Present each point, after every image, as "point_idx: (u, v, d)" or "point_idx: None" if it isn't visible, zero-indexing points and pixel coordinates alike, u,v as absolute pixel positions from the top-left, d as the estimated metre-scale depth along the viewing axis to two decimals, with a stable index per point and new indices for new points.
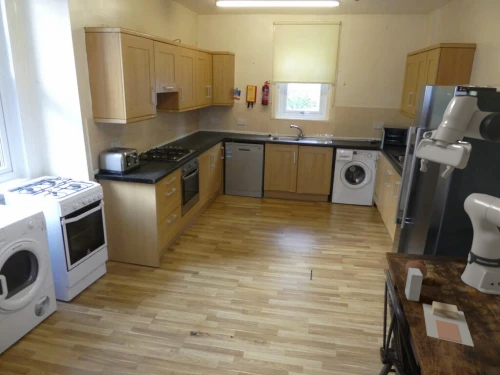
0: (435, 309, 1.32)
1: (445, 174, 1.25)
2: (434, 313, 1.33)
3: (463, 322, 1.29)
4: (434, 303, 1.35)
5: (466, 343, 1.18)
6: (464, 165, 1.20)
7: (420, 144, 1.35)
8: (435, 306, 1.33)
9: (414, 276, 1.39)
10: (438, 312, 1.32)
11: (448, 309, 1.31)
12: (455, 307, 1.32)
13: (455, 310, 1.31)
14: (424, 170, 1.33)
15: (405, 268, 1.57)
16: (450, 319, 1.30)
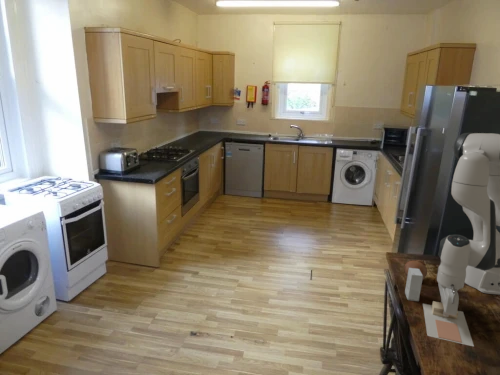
0: (435, 309, 1.32)
1: (445, 313, 1.30)
2: (434, 313, 1.33)
3: (463, 322, 1.29)
4: (434, 303, 1.35)
5: (466, 343, 1.18)
6: (453, 313, 1.22)
7: None
8: (435, 306, 1.33)
9: (414, 276, 1.39)
10: (438, 312, 1.32)
11: None
12: None
13: None
14: None
15: (405, 268, 1.57)
16: (450, 319, 1.30)
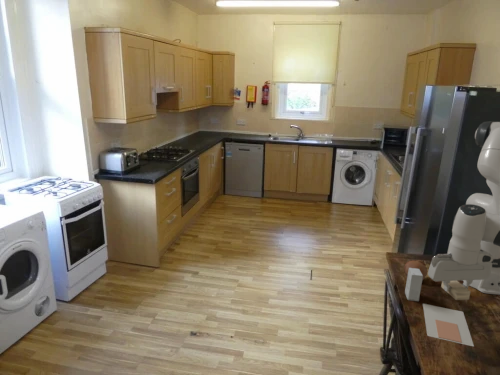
0: None
1: (445, 286, 1.20)
2: (442, 286, 1.24)
3: (463, 322, 1.29)
4: None
5: (466, 343, 1.18)
6: (431, 276, 1.17)
7: None
8: None
9: (414, 276, 1.39)
10: None
11: (453, 286, 1.19)
12: (465, 291, 1.17)
13: (459, 290, 1.17)
14: None
15: (405, 268, 1.57)
16: (450, 319, 1.30)
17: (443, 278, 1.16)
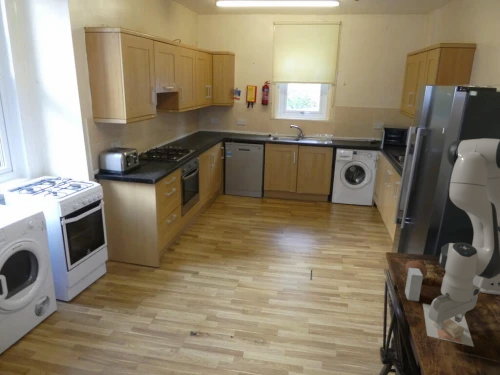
0: None
1: (438, 325, 1.21)
2: (434, 324, 1.26)
3: (463, 322, 1.29)
4: None
5: (466, 343, 1.18)
6: (434, 319, 1.17)
7: None
8: None
9: (414, 276, 1.39)
10: None
11: (448, 325, 1.22)
12: (460, 328, 1.21)
13: (455, 329, 1.20)
14: (456, 320, 1.25)
15: (405, 268, 1.57)
16: None
17: (444, 318, 1.18)
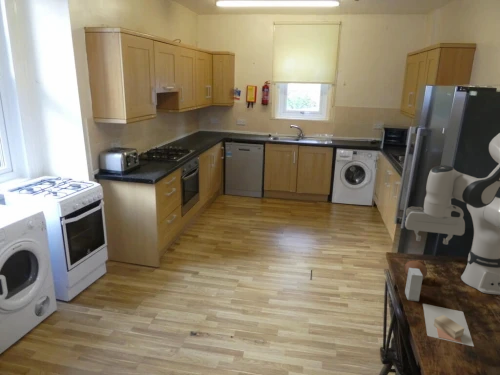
0: (435, 320, 1.26)
1: (416, 236, 1.39)
2: (434, 324, 1.26)
3: (463, 322, 1.29)
4: (441, 316, 1.27)
5: (466, 343, 1.18)
6: (405, 225, 1.38)
7: None
8: (438, 318, 1.26)
9: (414, 276, 1.39)
10: (438, 325, 1.25)
11: (448, 325, 1.22)
12: (460, 328, 1.21)
13: (455, 329, 1.20)
14: (443, 242, 1.36)
15: (405, 268, 1.57)
16: None
17: (415, 227, 1.36)
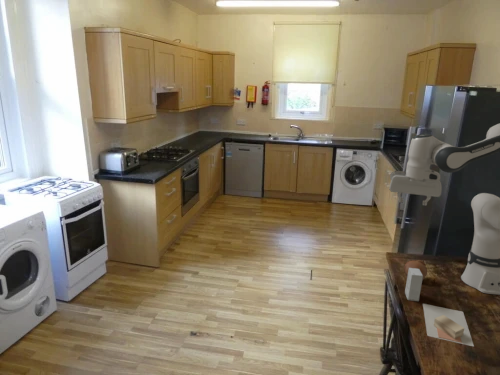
0: (435, 320, 1.26)
1: (399, 199, 1.55)
2: (434, 324, 1.26)
3: (463, 322, 1.29)
4: (441, 316, 1.27)
5: (466, 343, 1.18)
6: (389, 188, 1.54)
7: None
8: (438, 318, 1.26)
9: (414, 276, 1.39)
10: (438, 325, 1.25)
11: (448, 325, 1.22)
12: (460, 328, 1.21)
13: (455, 329, 1.20)
14: None
15: (405, 268, 1.57)
16: None
17: (398, 189, 1.52)
